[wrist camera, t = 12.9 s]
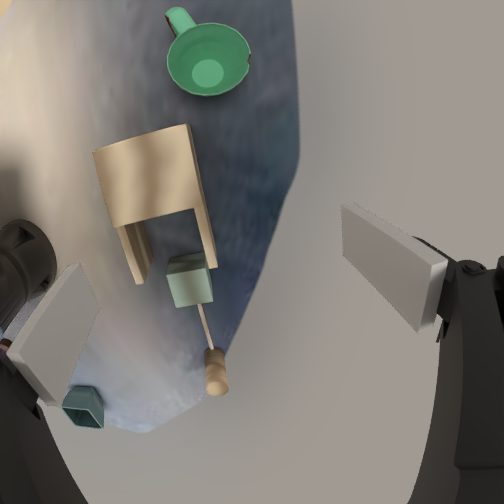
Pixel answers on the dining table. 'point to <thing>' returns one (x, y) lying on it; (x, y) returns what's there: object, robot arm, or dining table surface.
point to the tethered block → (197, 292)
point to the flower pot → (84, 407)
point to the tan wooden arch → (152, 190)
